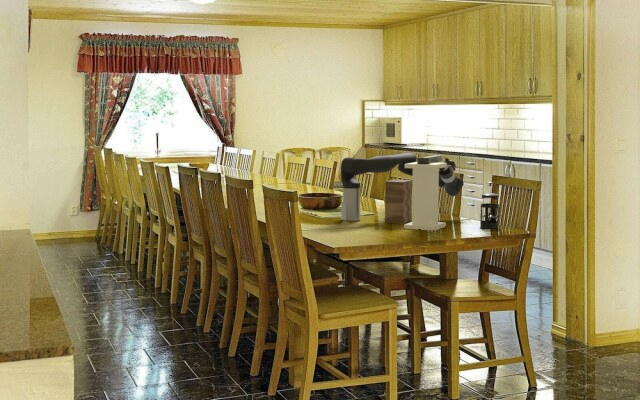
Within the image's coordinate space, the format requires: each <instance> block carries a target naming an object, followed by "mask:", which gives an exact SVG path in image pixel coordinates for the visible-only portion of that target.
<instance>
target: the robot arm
mask: <svg viewBox="0 0 640 400" xmlns="http://www.w3.org/2000/svg"><path fill="white" fill-rule="evenodd" d="M417 158H418V157H417V155H415V154H414V153H410V152H402V153H397V154H390V155H377V156H373V157H371V158H359V157H344V158H343V159H342V161H341V164H340V178H341V185H342V201H341V202H340V203H341V205H340V206H341V207H340V208H341V209H340V210H341V214H340V215H341V216H340V217H341V220H342V221H345V222H355V221H356V222H357V221H360V220H361V182H360V181H358V180H357V179H356V177H355V176H359V175H363V174H364V175H365V174H367V173H368V174H369V173H373V174H380V173H382V174H383V173H387V172H390V171H391V170H393V169H394V168H395V167H397V169H398V171H399V172H401V173H402V174H405V175H408V176H411V177H413V168H405V164H407V163H413V162H417ZM434 163H440V162H434ZM444 163H447V167H443V168H439V187H441V188H445V189H444V190H445V192H446V193H447V195H448V196H451V197H456V196H458V195H459V193H460V191H462V188H463V186H464V183H465V182H464V180H463V179H462V178H460V177H459V176H458V177H457V176H456V174H455V171H456V168H457V165H456V163H455V161H453V160H452V161H451V160H450V159H449V158H448V157H445V158H444ZM397 165H398V166H397Z"/></svg>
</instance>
